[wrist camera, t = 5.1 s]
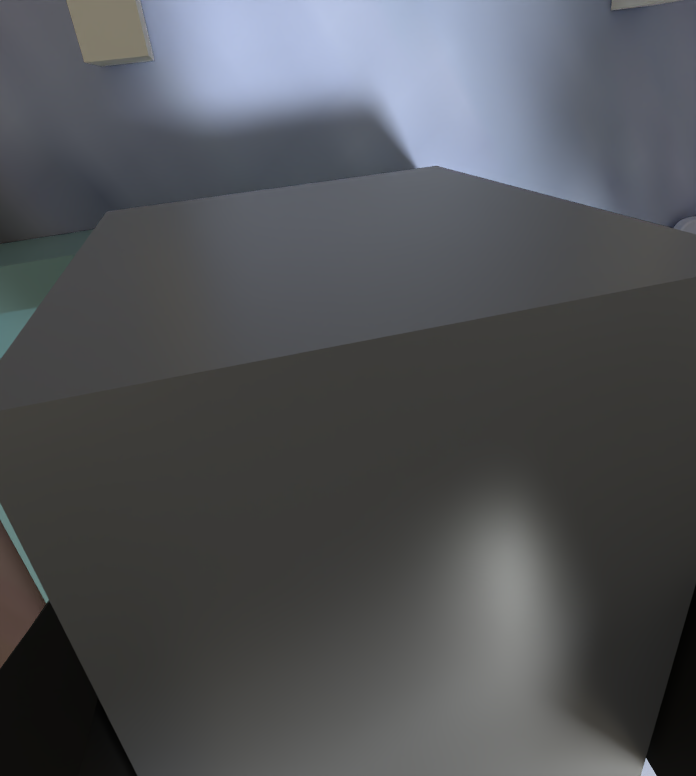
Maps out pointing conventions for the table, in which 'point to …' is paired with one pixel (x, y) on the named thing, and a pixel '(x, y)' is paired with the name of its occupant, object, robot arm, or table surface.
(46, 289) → the tray
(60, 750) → the robot arm
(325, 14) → the table surface
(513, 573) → the grey block
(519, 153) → the table surface
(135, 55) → the frame
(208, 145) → the table surface
